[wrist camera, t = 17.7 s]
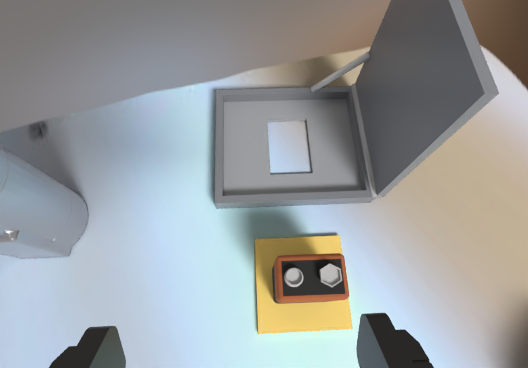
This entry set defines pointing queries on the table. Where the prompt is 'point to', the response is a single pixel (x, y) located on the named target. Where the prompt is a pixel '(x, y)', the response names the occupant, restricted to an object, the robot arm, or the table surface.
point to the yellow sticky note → (295, 314)
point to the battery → (309, 278)
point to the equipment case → (359, 114)
